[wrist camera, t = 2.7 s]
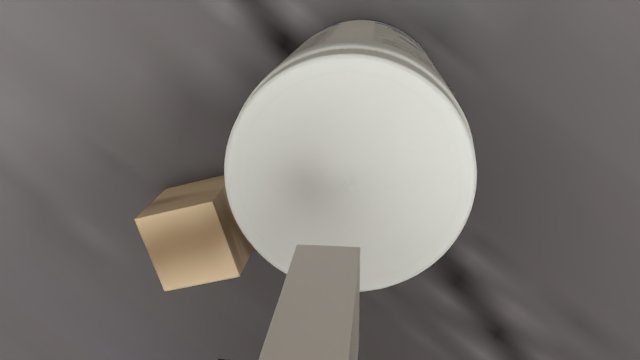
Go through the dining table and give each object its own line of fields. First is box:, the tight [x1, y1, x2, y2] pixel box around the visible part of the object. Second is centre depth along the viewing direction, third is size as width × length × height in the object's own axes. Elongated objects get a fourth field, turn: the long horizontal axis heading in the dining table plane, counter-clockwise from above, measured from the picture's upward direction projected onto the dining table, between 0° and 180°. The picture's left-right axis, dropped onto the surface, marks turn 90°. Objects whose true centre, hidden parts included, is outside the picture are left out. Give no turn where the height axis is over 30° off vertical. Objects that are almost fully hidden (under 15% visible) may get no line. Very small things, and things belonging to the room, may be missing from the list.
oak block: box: [134, 175, 254, 291], centre depth 35 cm, size 5×5×5 cm
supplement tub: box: [224, 20, 477, 291], centre depth 27 cm, size 10×10×15 cm
